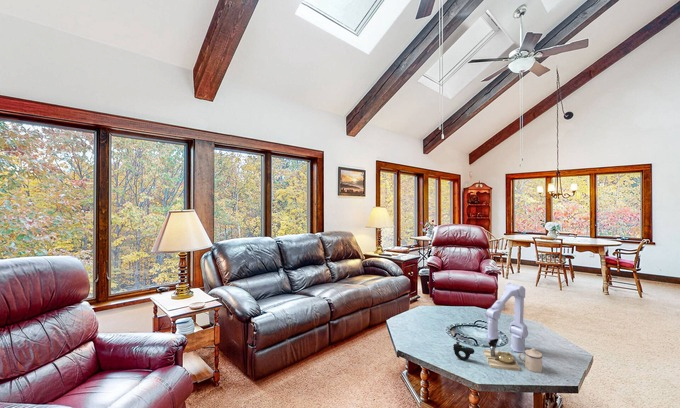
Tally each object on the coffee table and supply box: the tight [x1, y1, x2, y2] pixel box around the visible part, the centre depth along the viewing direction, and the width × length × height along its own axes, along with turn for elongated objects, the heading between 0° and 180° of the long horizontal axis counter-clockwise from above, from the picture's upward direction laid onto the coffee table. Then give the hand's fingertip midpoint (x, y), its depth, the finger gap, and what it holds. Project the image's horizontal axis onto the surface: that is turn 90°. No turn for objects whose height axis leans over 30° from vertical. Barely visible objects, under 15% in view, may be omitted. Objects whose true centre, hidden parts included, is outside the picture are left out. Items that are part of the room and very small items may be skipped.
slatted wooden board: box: [483, 349, 521, 372], centre depth 186 cm, size 19×16×2 cm
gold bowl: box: [490, 346, 515, 364], centre depth 184 cm, size 13×9×7 cm
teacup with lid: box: [518, 347, 544, 373], centre depth 178 cm, size 12×9×12 cm
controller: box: [452, 341, 475, 361], centre depth 188 cm, size 4×12×10 cm, turn 56°
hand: (492, 350), depth 189 cm, fingers closed
